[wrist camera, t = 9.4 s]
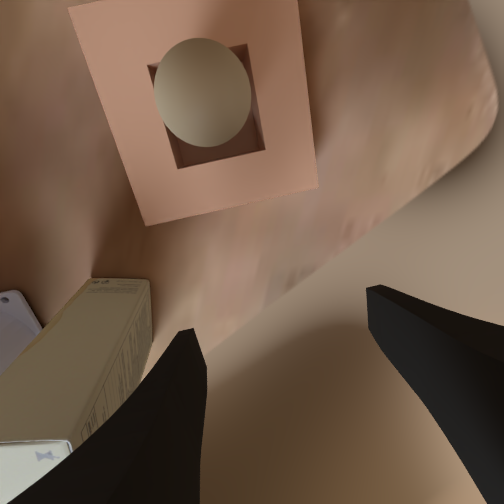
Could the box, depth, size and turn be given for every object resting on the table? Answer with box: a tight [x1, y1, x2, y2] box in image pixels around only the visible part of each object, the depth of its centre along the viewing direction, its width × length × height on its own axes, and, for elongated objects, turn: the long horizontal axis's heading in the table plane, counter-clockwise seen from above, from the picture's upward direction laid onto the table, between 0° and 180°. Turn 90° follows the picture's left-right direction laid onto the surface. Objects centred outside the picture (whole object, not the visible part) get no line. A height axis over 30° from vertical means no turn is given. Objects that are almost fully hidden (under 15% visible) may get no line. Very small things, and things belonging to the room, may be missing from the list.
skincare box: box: [0, 278, 152, 504], centre depth 16 cm, size 6×4×12 cm
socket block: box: [67, 0, 319, 226], centre depth 16 cm, size 10×10×4 cm
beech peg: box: [154, 38, 251, 147], centre depth 13 cm, size 3×3×8 cm
